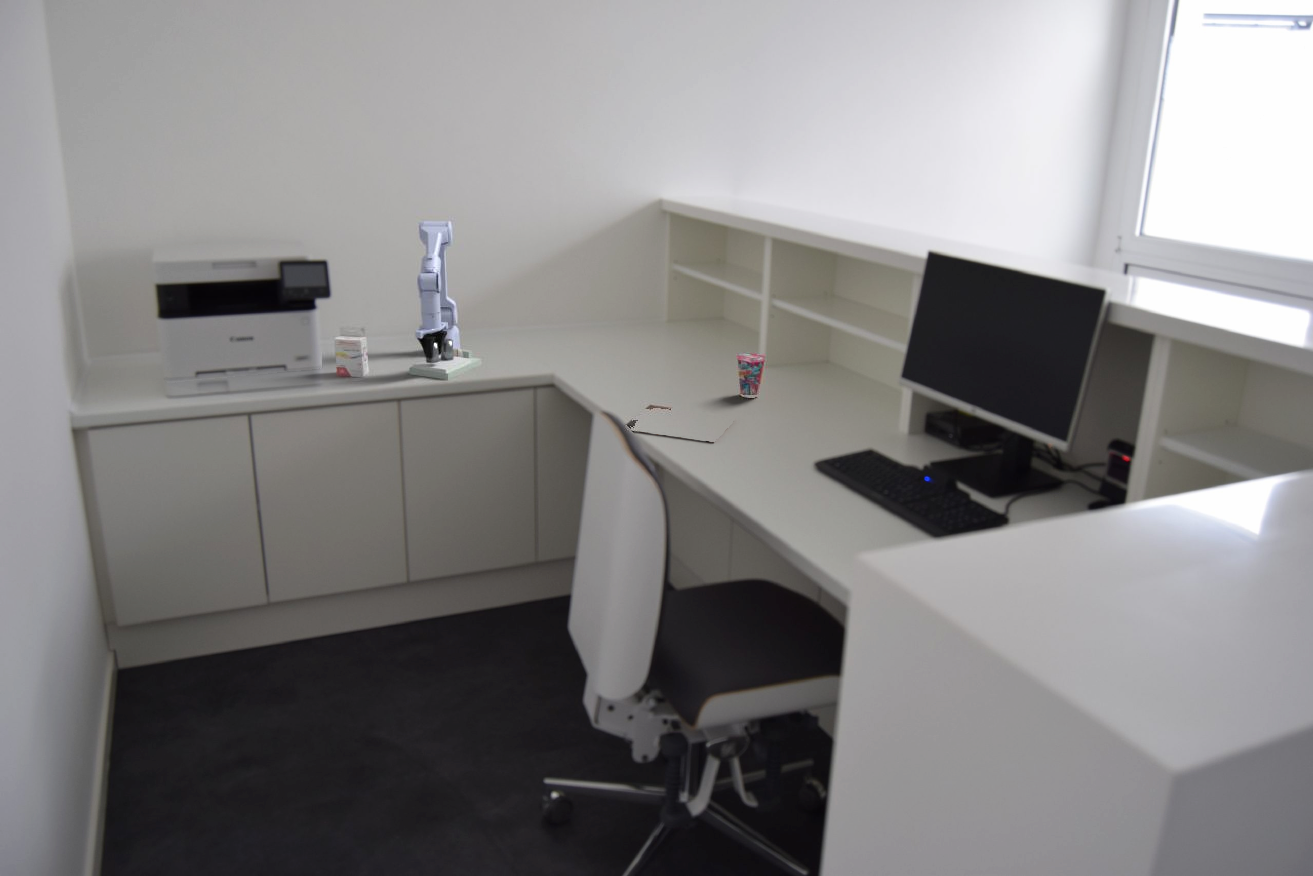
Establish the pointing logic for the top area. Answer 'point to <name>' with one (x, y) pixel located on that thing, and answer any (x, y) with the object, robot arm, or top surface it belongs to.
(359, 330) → the ink cartridge box
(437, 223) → the robot arm
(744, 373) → the cup
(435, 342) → the cylinder
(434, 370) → the scale
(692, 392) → the top surface
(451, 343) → the cylinder
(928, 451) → the top surface
